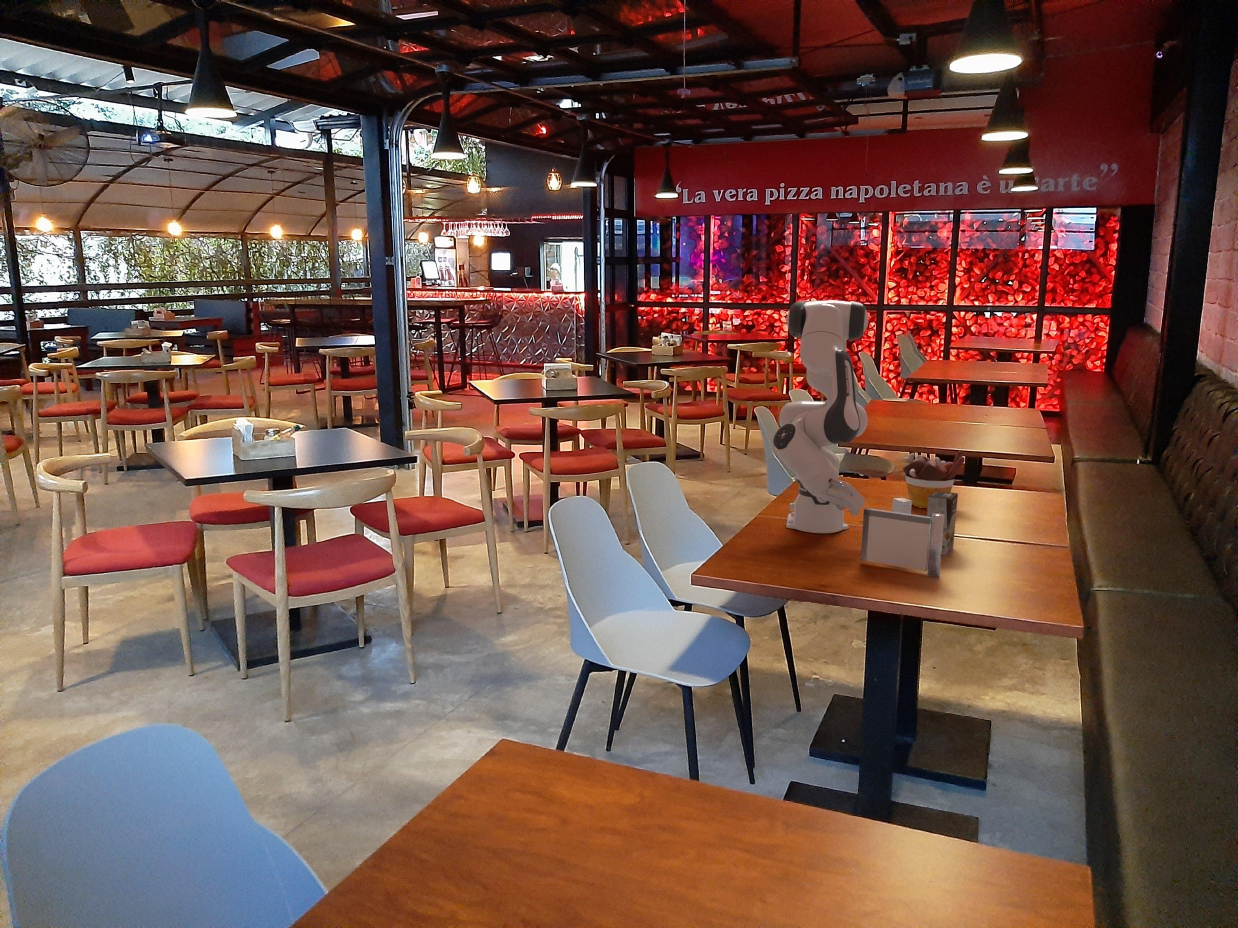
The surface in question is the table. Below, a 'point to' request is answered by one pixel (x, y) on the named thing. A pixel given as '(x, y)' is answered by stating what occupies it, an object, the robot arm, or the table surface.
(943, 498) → the coffee box
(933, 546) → the hinge post
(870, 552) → the gate
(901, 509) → the post
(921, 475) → the bucket of meat
